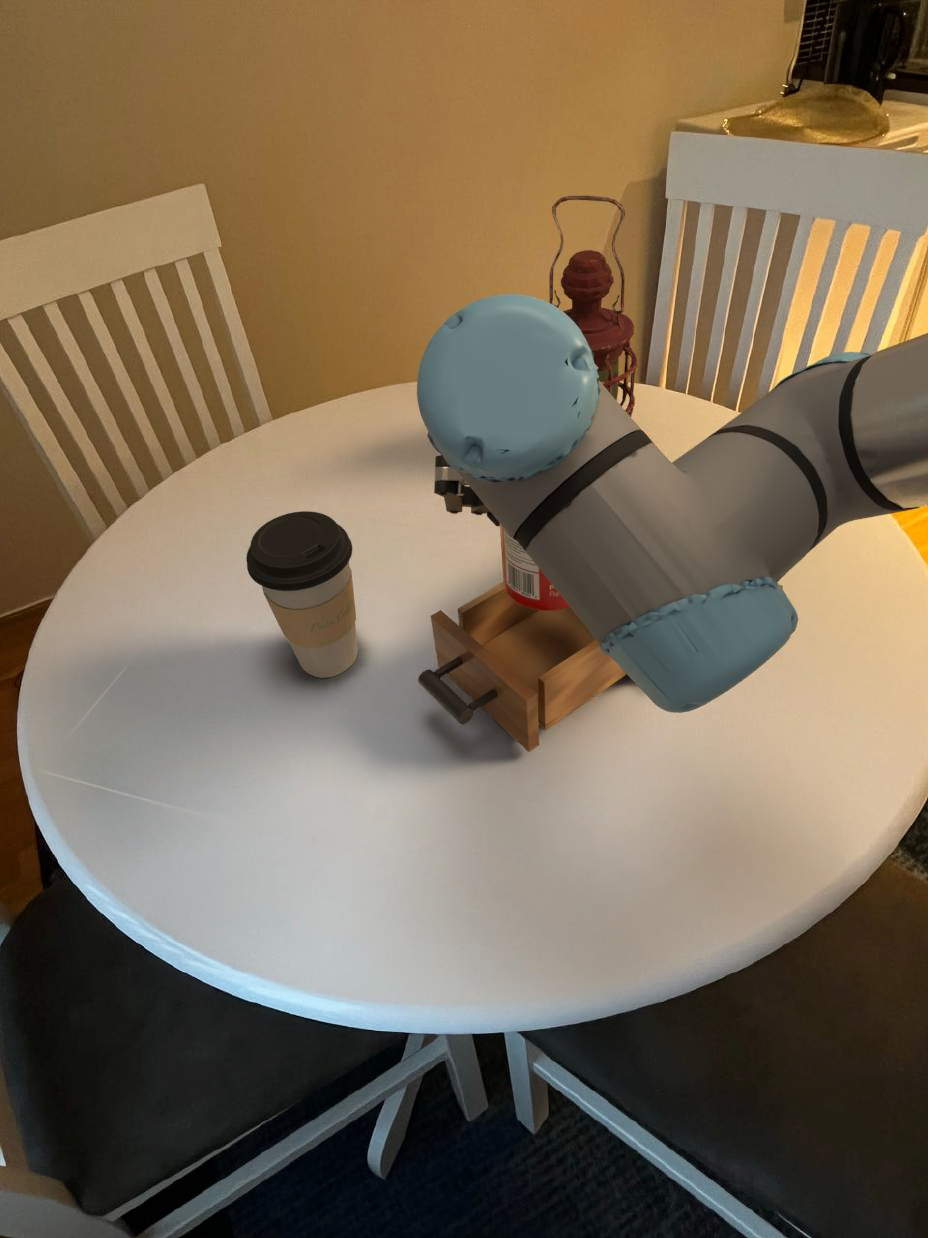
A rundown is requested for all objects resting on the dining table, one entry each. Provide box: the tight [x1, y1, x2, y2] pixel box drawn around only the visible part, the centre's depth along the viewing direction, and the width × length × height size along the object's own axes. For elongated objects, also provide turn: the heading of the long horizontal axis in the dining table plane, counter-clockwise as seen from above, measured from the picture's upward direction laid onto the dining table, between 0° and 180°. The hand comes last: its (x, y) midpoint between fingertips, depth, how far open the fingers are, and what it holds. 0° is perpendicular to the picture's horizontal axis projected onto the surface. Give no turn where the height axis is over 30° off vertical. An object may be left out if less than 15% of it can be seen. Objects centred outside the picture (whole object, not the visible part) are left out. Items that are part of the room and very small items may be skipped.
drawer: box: [417, 581, 627, 753], centre depth 75 cm, size 20×13×7 cm
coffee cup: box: [245, 510, 359, 679], centre depth 78 cm, size 9×9×15 cm
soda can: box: [499, 524, 570, 611], centre depth 67 cm, size 8×8×15 cm
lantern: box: [548, 195, 638, 418], centre depth 96 cm, size 12×12×30 cm
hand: (549, 511), depth 71 cm, fingers closed on soda can, 8 cm apart
